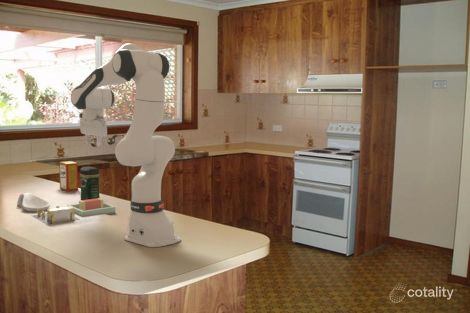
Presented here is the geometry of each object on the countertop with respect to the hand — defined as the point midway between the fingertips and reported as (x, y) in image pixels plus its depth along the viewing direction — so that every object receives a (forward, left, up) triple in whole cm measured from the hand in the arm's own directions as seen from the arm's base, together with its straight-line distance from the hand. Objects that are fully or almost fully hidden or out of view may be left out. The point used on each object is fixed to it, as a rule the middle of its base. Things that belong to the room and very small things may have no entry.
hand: (93, 144), depth 221 cm
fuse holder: (-6, +21, -31) cm, 38 cm away
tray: (-3, +3, -31) cm, 31 cm away
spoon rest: (+20, +22, -32) cm, 43 cm away
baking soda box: (+55, -11, -31) cm, 64 cm away
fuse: (-3, +3, -30) cm, 31 cm away
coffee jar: (+15, -5, -31) cm, 35 cm away
